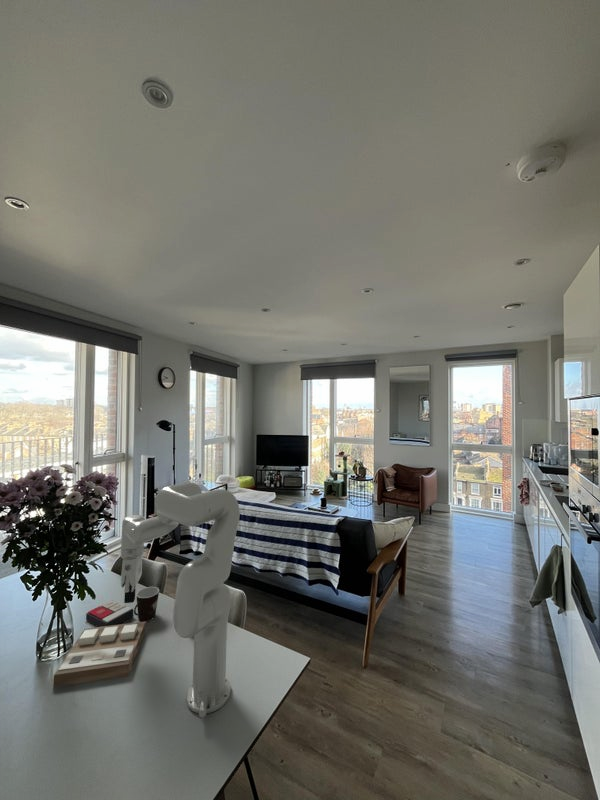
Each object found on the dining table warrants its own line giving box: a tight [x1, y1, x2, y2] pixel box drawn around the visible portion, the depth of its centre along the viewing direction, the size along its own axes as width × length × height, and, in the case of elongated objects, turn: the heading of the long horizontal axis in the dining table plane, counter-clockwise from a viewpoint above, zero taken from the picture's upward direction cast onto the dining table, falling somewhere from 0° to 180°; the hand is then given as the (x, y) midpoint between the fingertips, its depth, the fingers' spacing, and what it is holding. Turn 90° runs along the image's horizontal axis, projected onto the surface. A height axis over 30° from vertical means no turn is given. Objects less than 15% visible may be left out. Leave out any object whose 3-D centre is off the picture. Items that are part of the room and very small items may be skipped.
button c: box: [79, 629, 98, 646], centre depth 113 cm, size 4×4×4 cm
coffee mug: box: [133, 586, 160, 622], centre depth 131 cm, size 12×9×10 cm
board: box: [53, 621, 146, 688], centre depth 111 cm, size 22×21×4 cm
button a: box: [120, 624, 137, 640], centre depth 116 cm, size 4×4×4 cm
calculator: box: [85, 599, 134, 627], centre depth 131 cm, size 11×4×15 cm
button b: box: [100, 626, 118, 643], centre depth 115 cm, size 4×4×4 cm
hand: (129, 601), depth 117 cm, fingers closed
